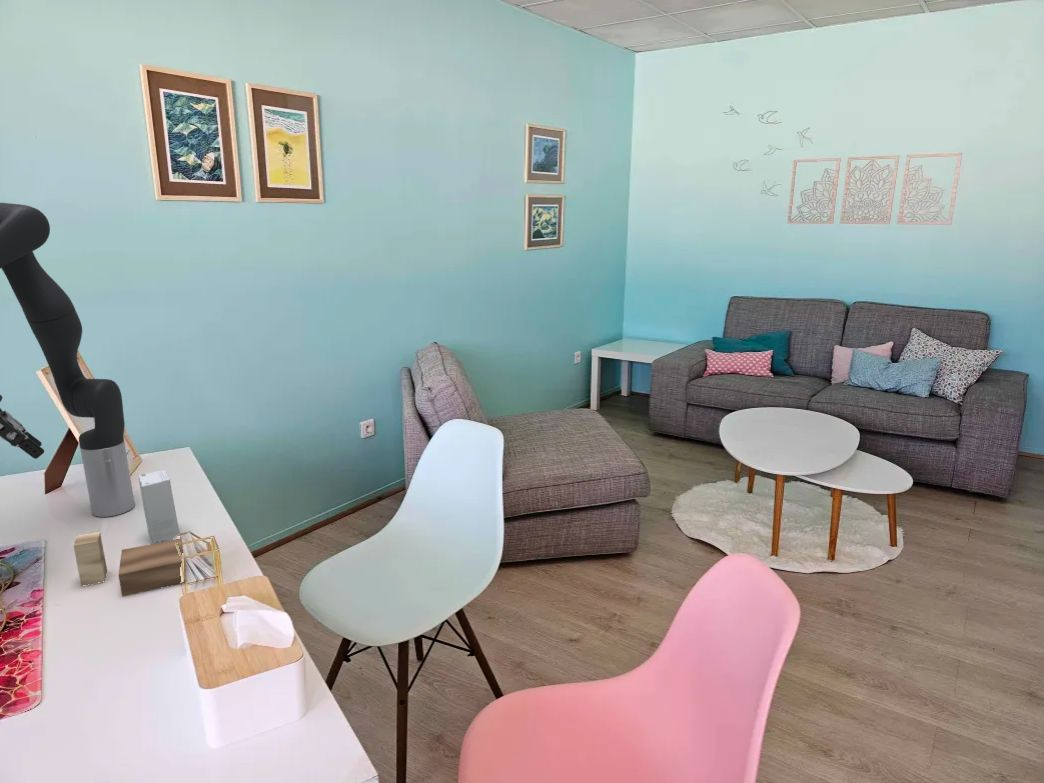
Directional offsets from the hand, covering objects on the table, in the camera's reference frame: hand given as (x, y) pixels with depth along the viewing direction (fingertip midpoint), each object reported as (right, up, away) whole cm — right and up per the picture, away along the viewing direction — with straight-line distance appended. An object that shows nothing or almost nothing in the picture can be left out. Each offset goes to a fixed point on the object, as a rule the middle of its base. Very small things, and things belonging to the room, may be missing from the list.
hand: (39, 451), depth 136 cm
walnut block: (+21, -26, +4) cm, 34 cm away
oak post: (+9, -26, +3) cm, 28 cm away
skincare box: (+14, -22, +20) cm, 33 cm away
